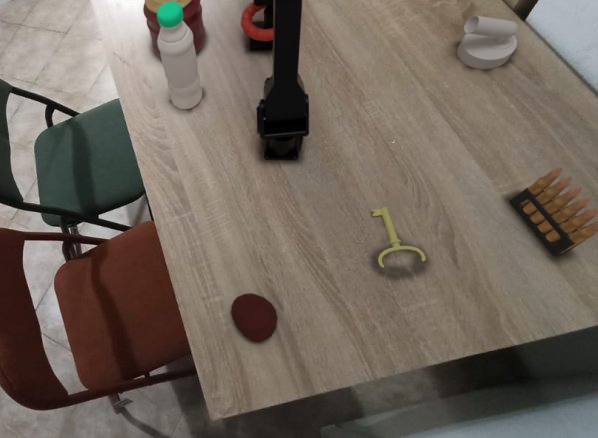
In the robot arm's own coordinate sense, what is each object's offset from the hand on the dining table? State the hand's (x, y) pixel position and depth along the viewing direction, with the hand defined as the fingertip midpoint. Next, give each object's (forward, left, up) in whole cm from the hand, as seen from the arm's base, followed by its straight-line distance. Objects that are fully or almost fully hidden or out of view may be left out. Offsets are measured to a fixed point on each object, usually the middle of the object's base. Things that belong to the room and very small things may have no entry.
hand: (270, 2), depth 99 cm
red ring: (0, -5, 0) cm, 5 cm away
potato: (+1, -71, -6) cm, 71 cm away
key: (+23, -55, -6) cm, 60 cm away
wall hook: (+40, -13, -6) cm, 42 cm away
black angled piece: (0, -5, -6) cm, 7 cm away
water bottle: (-17, -22, -6) cm, 28 cm away
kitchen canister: (-21, -5, -6) cm, 22 cm away
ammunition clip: (+44, -50, -6) cm, 67 cm away
